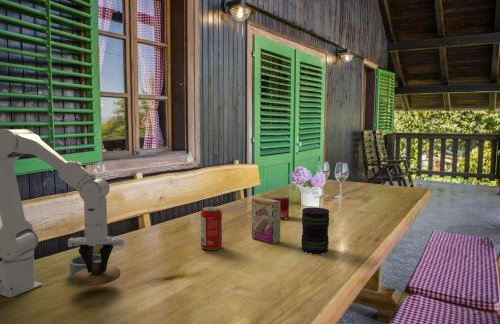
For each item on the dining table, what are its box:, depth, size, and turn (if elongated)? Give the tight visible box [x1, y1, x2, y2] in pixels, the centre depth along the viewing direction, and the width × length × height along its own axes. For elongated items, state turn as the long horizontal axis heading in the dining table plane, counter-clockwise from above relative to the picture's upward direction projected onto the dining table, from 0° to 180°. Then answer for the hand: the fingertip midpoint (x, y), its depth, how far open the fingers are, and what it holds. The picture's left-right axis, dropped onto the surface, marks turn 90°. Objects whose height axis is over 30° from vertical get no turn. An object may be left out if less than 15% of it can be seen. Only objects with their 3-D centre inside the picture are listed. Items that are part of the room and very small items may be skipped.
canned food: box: [272, 194, 290, 220], centre depth 193 cm, size 8×8×11 cm
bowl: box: [68, 253, 101, 280], centre depth 120 cm, size 10×10×4 cm
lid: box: [73, 260, 121, 287], centre depth 108 cm, size 12×12×5 cm
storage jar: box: [300, 206, 330, 255], centre depth 143 cm, size 10×10×15 cm
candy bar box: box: [251, 197, 281, 245], centre depth 155 cm, size 11×5×16 cm, turn 47°
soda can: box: [200, 206, 223, 251], centre depth 146 cm, size 8×8×15 cm
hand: (97, 271), depth 108 cm, fingers closed on lid, 3 cm apart
